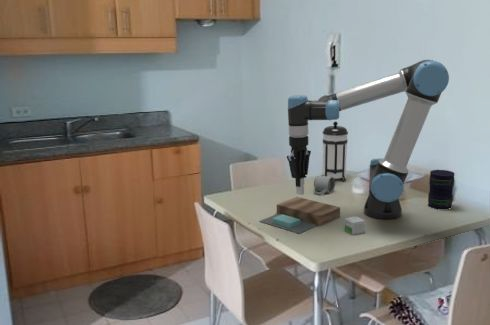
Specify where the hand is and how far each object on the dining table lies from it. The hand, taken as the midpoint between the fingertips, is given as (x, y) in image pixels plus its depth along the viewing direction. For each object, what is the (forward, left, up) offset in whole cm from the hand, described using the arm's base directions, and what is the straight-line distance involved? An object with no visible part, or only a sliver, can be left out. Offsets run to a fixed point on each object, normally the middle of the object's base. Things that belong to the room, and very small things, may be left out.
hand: (300, 193), depth 203 cm
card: (+1, +8, -9) cm, 12 cm away
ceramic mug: (+15, -37, -11) cm, 42 cm away
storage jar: (-35, -52, -11) cm, 64 cm away
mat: (+1, +7, -11) cm, 13 cm away
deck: (+1, -6, -11) cm, 13 cm away
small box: (-23, -3, -11) cm, 26 cm away
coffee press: (+23, -59, -11) cm, 65 cm away
